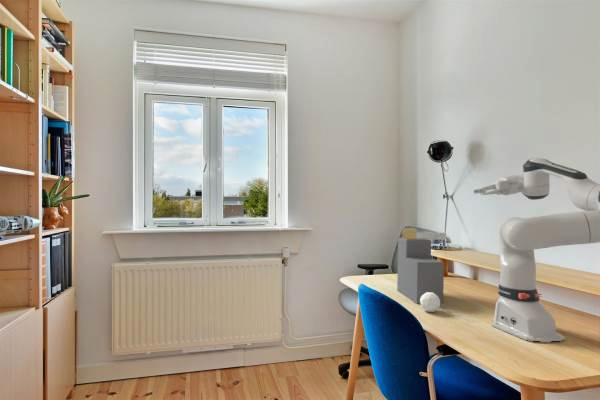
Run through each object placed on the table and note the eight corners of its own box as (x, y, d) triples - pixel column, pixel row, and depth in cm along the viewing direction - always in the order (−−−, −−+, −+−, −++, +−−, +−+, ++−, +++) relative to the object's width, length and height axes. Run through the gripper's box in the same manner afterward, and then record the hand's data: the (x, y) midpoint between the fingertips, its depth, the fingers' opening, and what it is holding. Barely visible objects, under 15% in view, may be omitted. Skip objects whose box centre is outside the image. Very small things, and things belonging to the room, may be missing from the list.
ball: (425, 316, 147) (423, 297, 152) (445, 313, 143) (441, 293, 148) (417, 310, 143) (415, 291, 148) (437, 306, 139) (434, 287, 143)
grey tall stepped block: (443, 303, 157) (444, 243, 156) (416, 303, 155) (417, 243, 155) (420, 290, 178) (421, 238, 178) (397, 290, 177) (398, 237, 177)
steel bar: (446, 239, 172) (446, 229, 172) (406, 239, 170) (406, 229, 170) (441, 238, 177) (441, 228, 177) (402, 238, 175) (402, 228, 175)
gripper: (521, 188, 161) (490, 194, 161) (498, 194, 181) (470, 199, 181) (518, 175, 161) (487, 180, 161) (495, 182, 182) (467, 187, 182)
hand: (478, 190), depth 171 cm, fingers open, 8 cm apart
